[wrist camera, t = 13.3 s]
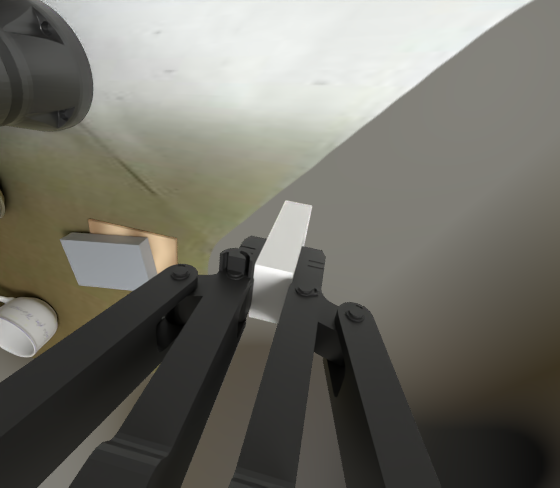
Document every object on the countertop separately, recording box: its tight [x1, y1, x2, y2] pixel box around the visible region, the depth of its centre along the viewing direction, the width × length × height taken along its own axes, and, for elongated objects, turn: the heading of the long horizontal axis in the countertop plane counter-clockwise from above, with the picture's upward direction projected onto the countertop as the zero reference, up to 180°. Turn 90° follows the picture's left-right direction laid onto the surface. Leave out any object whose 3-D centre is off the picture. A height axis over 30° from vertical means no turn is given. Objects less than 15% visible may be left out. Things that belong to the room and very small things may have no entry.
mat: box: [88, 219, 178, 274], centre depth 54 cm, size 15×10×1 cm, turn 82°
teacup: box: [0, 296, 58, 357], centre depth 63 cm, size 14×11×8 cm
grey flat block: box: [60, 232, 157, 291], centre depth 54 cm, size 3×9×14 cm
